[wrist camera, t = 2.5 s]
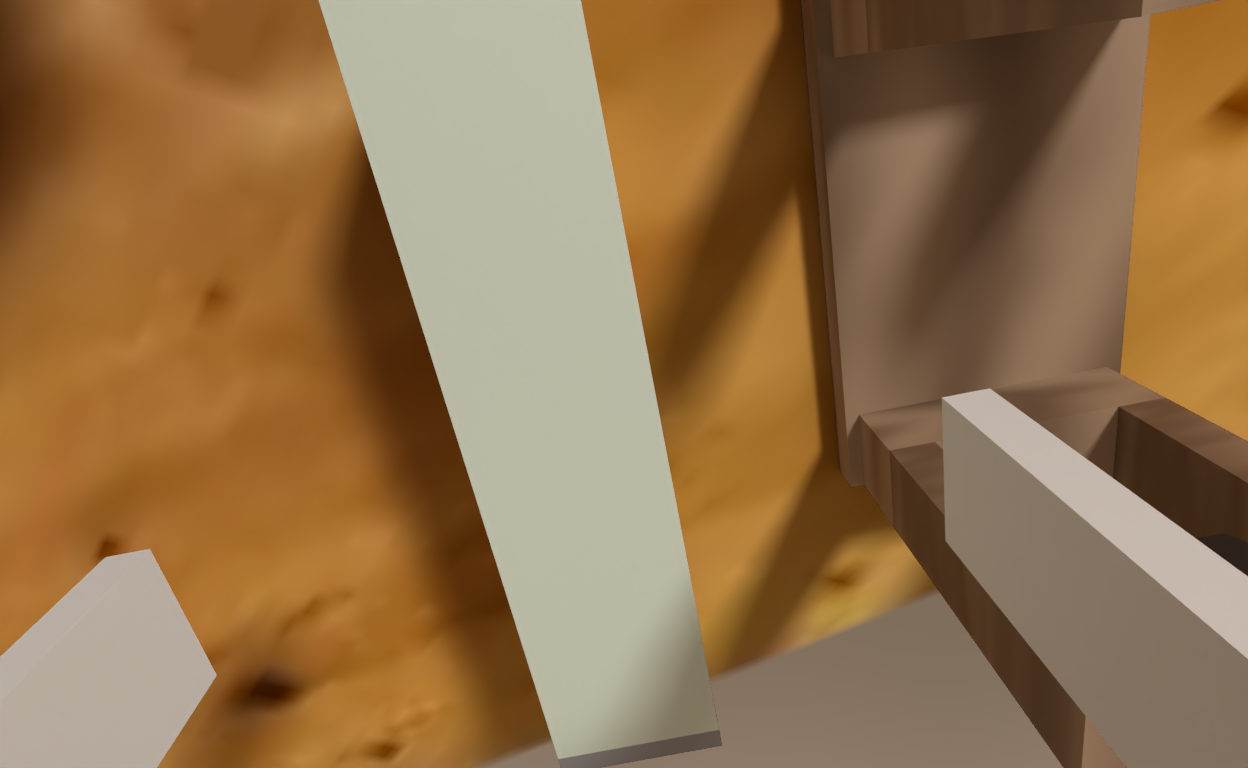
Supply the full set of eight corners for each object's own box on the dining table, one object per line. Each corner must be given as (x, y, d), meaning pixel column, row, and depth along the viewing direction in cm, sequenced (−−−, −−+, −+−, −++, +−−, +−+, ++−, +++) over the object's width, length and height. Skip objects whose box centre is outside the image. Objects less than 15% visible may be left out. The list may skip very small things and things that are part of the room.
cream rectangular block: (569, 557, 29) (562, 774, 20) (414, -28, 21) (281, -120, 12) (678, 537, 29) (721, 745, 20) (564, -60, 21) (547, -179, 12)
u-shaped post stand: (840, 471, 28) (1056, 794, 15) (797, -46, 21) (1121, -256, 8) (1093, 423, 28) (1531, 710, 15) (1131, -117, 21) (1996, -443, 8)
